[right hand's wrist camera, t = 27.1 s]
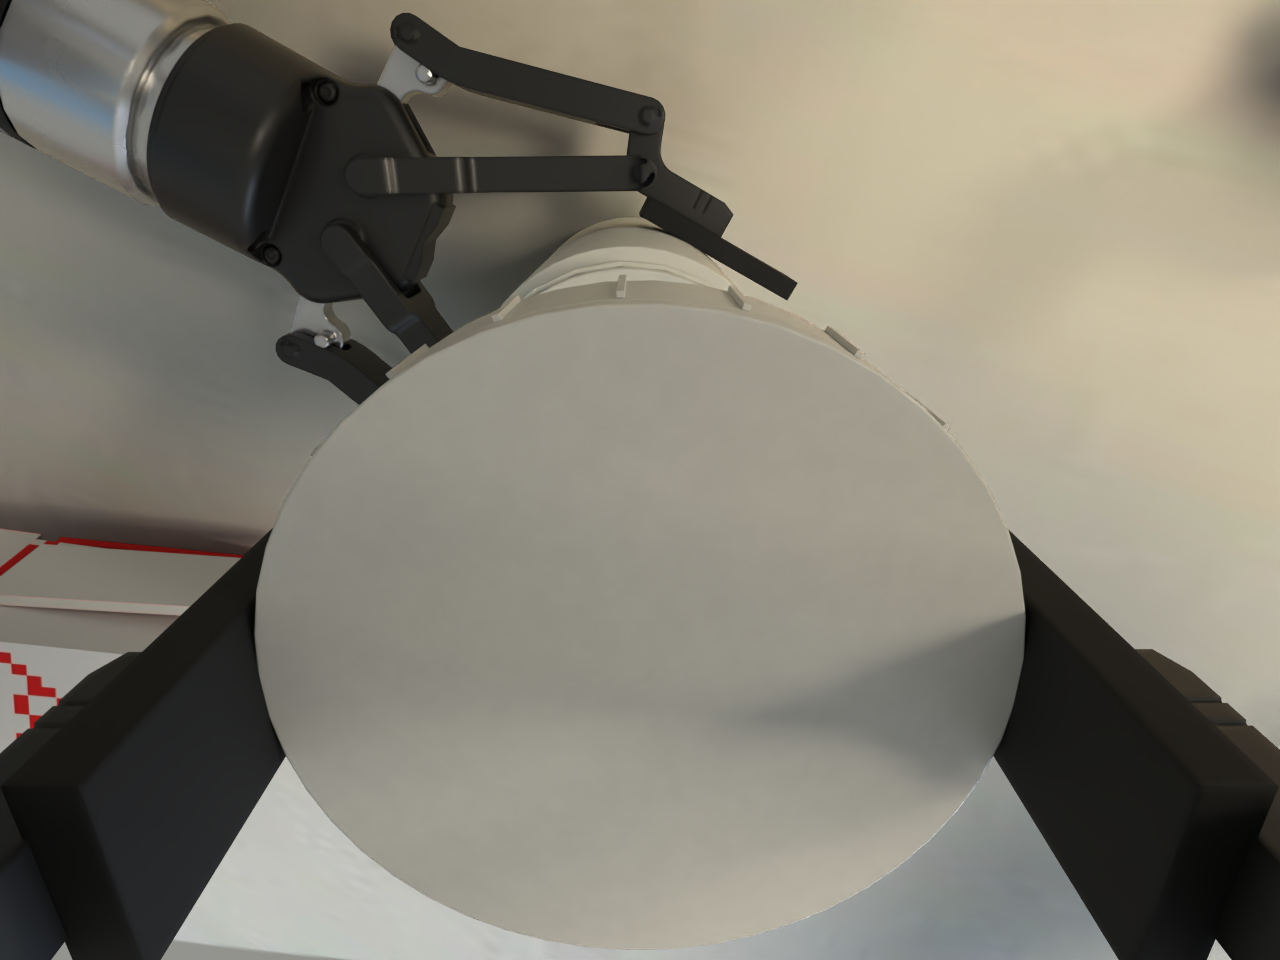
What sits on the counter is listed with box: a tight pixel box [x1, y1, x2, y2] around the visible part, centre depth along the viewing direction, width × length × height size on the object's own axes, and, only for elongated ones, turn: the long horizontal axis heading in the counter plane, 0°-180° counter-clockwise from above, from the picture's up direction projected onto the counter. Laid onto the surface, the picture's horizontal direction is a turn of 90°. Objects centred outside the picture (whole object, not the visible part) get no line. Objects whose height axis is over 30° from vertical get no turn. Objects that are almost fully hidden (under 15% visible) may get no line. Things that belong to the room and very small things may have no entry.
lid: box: [254, 275, 1026, 950], centre depth 12 cm, size 11×11×2 cm
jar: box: [500, 217, 744, 308], centre depth 29 cm, size 10×10×18 cm
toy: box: [0, 529, 244, 753], centre depth 38 cm, size 12×13×30 cm
